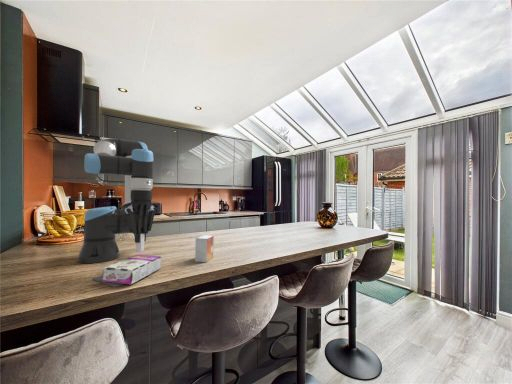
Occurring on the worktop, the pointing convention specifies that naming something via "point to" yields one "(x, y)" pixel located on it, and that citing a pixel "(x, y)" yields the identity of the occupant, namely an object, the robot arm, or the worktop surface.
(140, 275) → the candy bar box
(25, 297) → the worktop surface
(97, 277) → the mat
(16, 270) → the worktop surface
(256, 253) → the worktop surface
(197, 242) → the small box
